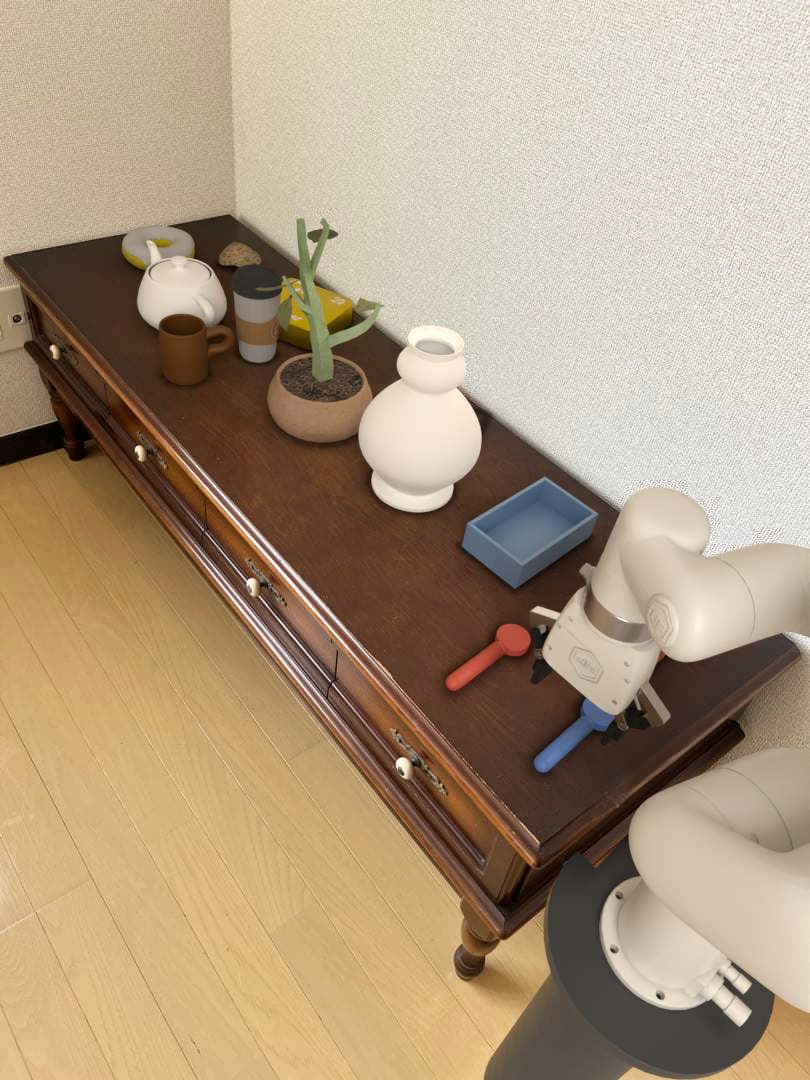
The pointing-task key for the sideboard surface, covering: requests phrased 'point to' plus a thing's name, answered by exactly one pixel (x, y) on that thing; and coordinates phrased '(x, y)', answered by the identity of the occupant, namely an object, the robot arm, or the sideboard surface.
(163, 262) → the teapot
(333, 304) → the element tile
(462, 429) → the decorative vase
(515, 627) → the red spoon
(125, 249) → the donut
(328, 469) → the sideboard surface
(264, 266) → the coffee cup
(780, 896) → the robot arm
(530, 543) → the blue bin
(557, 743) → the blue spoon
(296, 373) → the potted plant
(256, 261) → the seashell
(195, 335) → the mug
